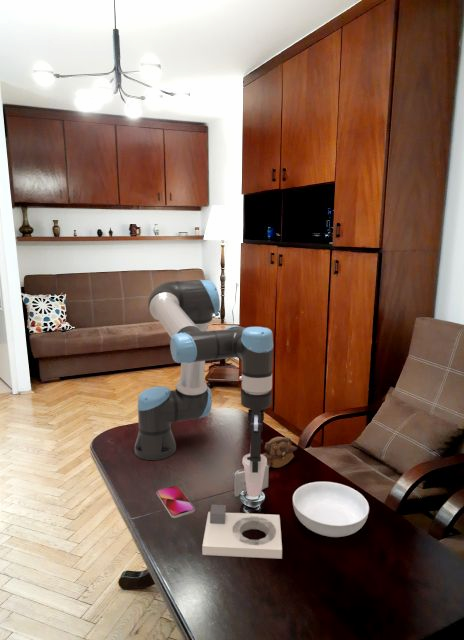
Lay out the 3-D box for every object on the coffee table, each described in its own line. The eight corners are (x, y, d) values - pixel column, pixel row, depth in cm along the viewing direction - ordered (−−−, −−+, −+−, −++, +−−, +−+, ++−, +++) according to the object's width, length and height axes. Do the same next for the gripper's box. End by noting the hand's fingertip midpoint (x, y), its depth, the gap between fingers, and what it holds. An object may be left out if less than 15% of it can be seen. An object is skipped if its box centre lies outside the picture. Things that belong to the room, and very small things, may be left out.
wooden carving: (264, 476, 149) (265, 449, 147) (255, 470, 153) (256, 443, 151) (299, 461, 159) (300, 435, 157) (289, 456, 163) (290, 430, 161)
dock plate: (208, 519, 127) (208, 502, 126) (279, 522, 126) (279, 505, 125) (202, 554, 113) (202, 535, 112) (281, 558, 112) (282, 539, 111)
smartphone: (177, 484, 143) (196, 509, 130) (177, 487, 143) (196, 512, 131) (155, 490, 140) (172, 516, 127) (155, 493, 140) (172, 520, 127)
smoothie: (264, 484, 120) (265, 437, 117) (267, 499, 114) (269, 450, 111) (240, 485, 120) (241, 438, 116) (243, 500, 114) (243, 451, 110)
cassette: (236, 498, 137) (236, 475, 136) (233, 495, 139) (233, 472, 137) (269, 488, 143) (269, 466, 141) (266, 485, 144) (266, 463, 143)
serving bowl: (369, 509, 132) (370, 488, 131) (365, 557, 113) (367, 533, 112) (299, 495, 139) (300, 475, 138) (284, 538, 120) (285, 515, 118)
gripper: (242, 376, 121) (241, 455, 125) (239, 404, 102) (238, 495, 106) (270, 377, 120) (268, 456, 125) (272, 405, 101) (270, 497, 106)
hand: (254, 474), depth 115 cm, fingers closed on smoothie, 6 cm apart
